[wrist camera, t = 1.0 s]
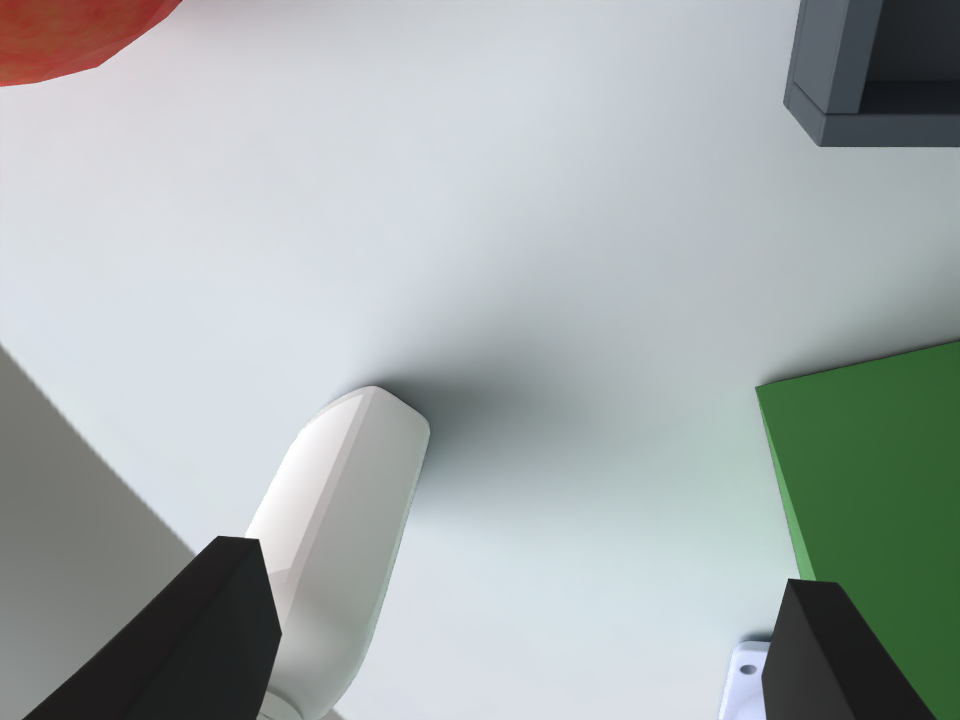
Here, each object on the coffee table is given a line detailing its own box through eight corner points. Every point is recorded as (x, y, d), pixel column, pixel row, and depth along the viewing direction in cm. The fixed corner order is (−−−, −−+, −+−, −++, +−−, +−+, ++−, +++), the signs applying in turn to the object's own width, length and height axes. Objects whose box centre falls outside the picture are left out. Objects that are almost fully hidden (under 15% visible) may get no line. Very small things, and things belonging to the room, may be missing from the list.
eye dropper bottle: (239, 419, 23) (-30, 846, 13) (406, 368, 21) (243, 816, 11) (311, 521, 25) (126, 961, 15) (469, 482, 23) (378, 951, 13)
